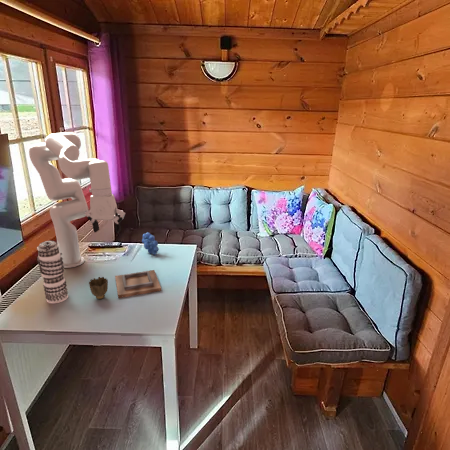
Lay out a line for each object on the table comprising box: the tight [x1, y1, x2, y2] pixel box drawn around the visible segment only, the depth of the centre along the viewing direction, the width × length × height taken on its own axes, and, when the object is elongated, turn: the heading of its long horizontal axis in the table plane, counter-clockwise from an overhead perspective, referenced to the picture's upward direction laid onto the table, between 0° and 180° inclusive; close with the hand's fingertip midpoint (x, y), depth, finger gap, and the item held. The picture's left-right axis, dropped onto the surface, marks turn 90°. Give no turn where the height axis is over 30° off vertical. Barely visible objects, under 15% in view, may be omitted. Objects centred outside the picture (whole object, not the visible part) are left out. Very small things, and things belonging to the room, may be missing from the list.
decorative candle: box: [36, 240, 69, 305], centre depth 143 cm, size 9×9×25 cm
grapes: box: [141, 231, 160, 255], centre depth 187 cm, size 12×7×12 cm, turn 54°
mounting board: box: [114, 269, 162, 299], centre depth 158 cm, size 18×18×3 cm
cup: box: [88, 276, 109, 300], centre depth 146 cm, size 8×7×8 cm
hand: (107, 231), depth 148 cm, fingers open, 9 cm apart
